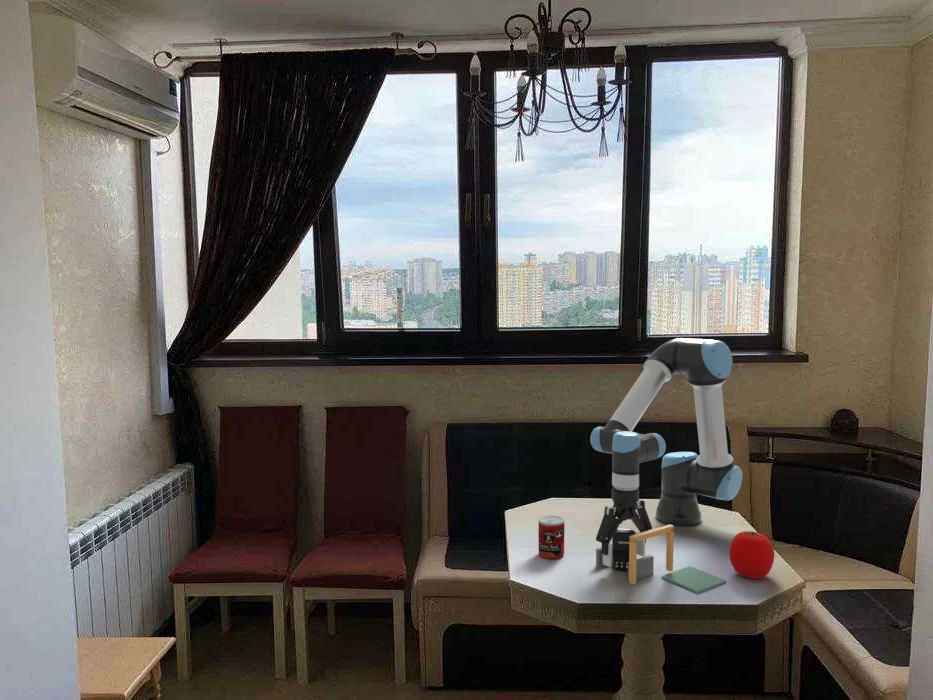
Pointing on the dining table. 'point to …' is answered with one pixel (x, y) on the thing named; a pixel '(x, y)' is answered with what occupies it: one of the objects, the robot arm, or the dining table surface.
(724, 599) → the dining table surface
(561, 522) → the canned food
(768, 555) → the tomato
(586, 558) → the dining table surface
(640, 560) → the clip
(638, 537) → the arched handle
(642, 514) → the robot arm
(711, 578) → the mat
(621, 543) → the battery charger
